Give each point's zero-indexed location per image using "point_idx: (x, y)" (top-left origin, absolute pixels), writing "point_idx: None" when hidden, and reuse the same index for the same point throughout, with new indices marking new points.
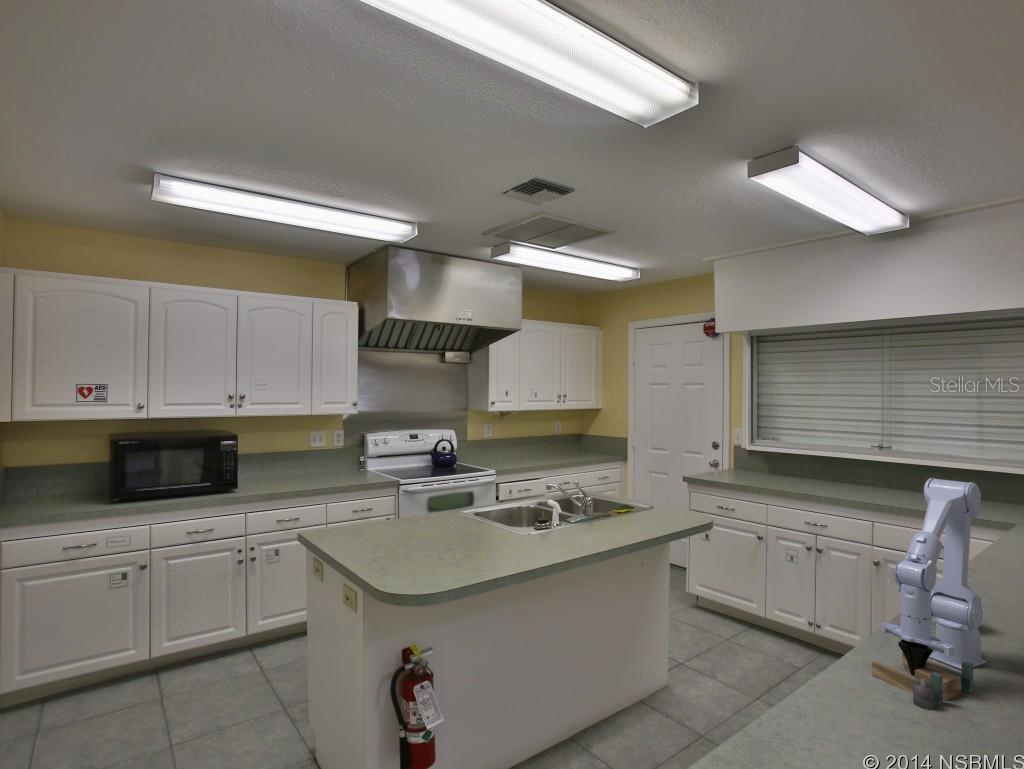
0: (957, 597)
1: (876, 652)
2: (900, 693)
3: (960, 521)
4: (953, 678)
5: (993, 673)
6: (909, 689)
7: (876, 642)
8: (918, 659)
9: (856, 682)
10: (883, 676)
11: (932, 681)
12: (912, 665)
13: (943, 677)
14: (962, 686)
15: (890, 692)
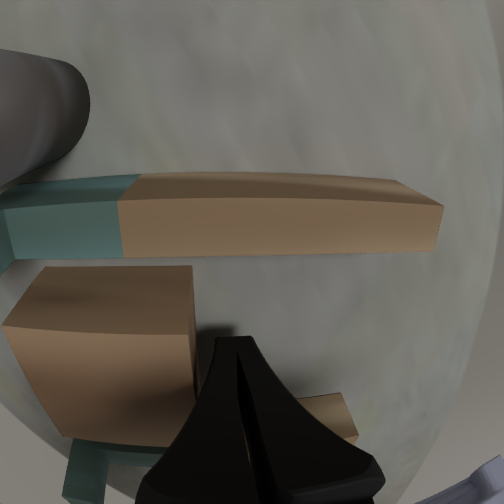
0: None
1: (430, 384)
2: (183, 105)
3: None
4: (45, 403)
5: None
6: (162, 178)
7: (435, 420)
8: (185, 429)
9: (394, 18)
10: (342, 180)
11: None
12: (245, 380)
13: (59, 381)
14: None
15: (223, 58)
